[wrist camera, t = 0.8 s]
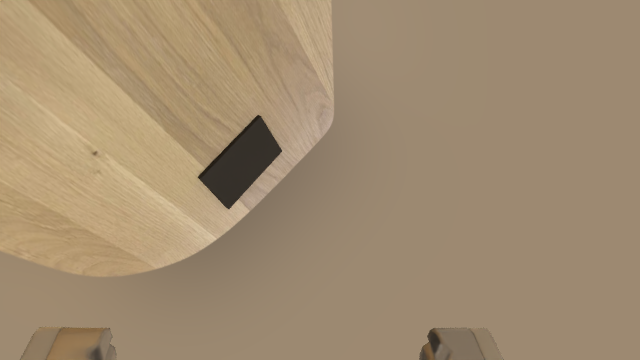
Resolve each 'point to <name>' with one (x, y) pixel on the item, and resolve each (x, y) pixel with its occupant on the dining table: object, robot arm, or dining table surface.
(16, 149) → the dining table surface
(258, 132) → the mat
